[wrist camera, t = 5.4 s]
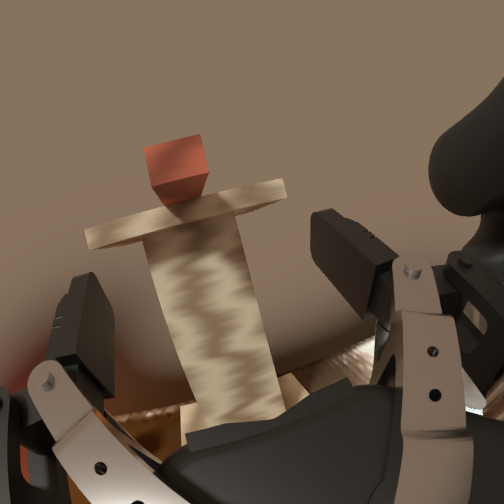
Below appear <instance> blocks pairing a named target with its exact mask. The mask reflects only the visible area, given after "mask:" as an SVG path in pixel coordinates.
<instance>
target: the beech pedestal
mask: <svg viewBox="0 0 504 504" xmlns="http://www.w3.org/2000/svg"><path fill="white" fill-rule="evenodd" d="M285 198H287V194H286V190H285V187H284V183H283V179H276V180H272V181H267V182H262V183H257V184H253V185H248V186H243V187H239V188H235V189H230V190H226V191H222V192H217V193H213V194H209V195H205V196H201V197H197V198H193V199H189V200H185V201H181V202H177V203H174V204H170V205H166V206H163V207H159V208H155V209H152V210H148V211H145V212H142V213H138V214H134V215H131V216H127V217H124V218H121V219H118V220H115V221H111V222H108V223H105V224H101V225H99V226H95V227H92V228H89V229H86V230H85V235H86V239H87V243H88V247H89V250H96V249H105V248H113V247H121V246H126V245H130V244H133V243H136V242H140V241H143V245H144V249H145V253H146V257H147V260H148V264H149V268H150V271H151V275H152V278H153V281H154V285H155V288H156V291H157V295H158V298H159V301H160V304H161V307H162V310H163V314H164V317H165V320H166V323H167V326H168V328H169V331H170V334H171V337H172V340H173V343H174V345H175V348H176V351H177V354H178V356H179V359H180V361H181V364H182V367H183V369H184V372H185V374H186V377H187V379H188V382H189V384H190V387H191V389H192V391H193V394H194V396H195V399H196V401H197V403H193V404H189V405H185V406H181V440H182V446H184V445H186V444H187V441H186V437H185V433H189V432H193V431H198V430H202V429H206V428H210V427H213V426H217V425H221V424H224V423H236V422H249V421H260V420H269V419H273V418H276V417H278V416H279V415H281V414H282V413H284V412H285V411H287V410H288V409H289V408H291V407H292V406H294V405H295V404H297V403H298V402H300V401H301V400H302V399H304V398H305V397H306V396H308V395H309V393H308V392H307V391H306V390H305V389H304V387H303V386H302V385H301V384H300V383H299V381H298V380H297V379H296V378H295V377H294V376H293V374H292V373H289V374H286V375H284V376H281V377H278V378H277V376H276V372H275V368H274V364H273V361H272V357H271V353H270V350H269V346H268V342H267V338H266V334H265V330H264V326H263V323H262V319H261V315H260V311H259V307H258V304H257V300H256V296H255V292H254V288H253V285H252V280H251V277H250V273H249V269H248V265H247V261H246V257H245V253H244V250H243V246H242V242H241V238H240V234H239V230H238V226H237V222H236V218H235V216H237V215H241V214H245V213H249V212H253V211H255V210H258V209H260V208H262V207H265V206H267V205H270V204H273V203H275V202H277V201H280V200H282V199H285Z"/></svg>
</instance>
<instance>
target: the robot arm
mask: <svg viewBox="0 0 504 504" xmlns="http://www.w3.org/2000/svg"><path fill="white" fill-rule="evenodd" d="M428 171H429V181H430V185H431V188H432V191H433V193H434V195H435V197H436V198H437V200H438V201H439V202H440V204H441V205H442V206H443V207H444V208H446V209H447V210H448V211H450V212H452V213H454V214H456V215H460V216H468V217H471V216H476V215H480V214H481V223H480V226H479V228H478V230H477V232H476V233H475V235H474V236H473V237H472V239H471V240H470V241H469V242H468V243H467V244H466V245H465V246H464V247H463V249H462V250H461V251H453V252H451V253H450V254H449V255H448V258H447V261H446V264H445V265H439V266H430V265H429V264H428V263H427V262H425V261H424V260H423V259H421V258H418V257H415V256H409V255H406V256H399V255H397V254H396V253H395V252H394V251H393V250H391V249H390V248H389V247H388V246H387V245H385V244H384V243H383V242H382V241H381V240H379V239H378V238H377V237H376V238H375V236H374V235H373V234H372V233H371V232H368V230H367V229H366V228H365V227H363V226H362V225H361V224H359V223H358V222H355V221H353V220H350V219H348V218H344V217H343V216H342V215H340V214H339V213H338V212H336V211H335V210H334V209H332V208H330V209H326V210H322V211H318V212H314V213H312V215H311V234H310V237H311V238H310V239H311V241H310V250H311V255H312V258H313V260H314V262H315V264H316V265H317V266H318V267H319V268H320V270H321V271H322V272H323V273H324V274H325V276H326V277H327V278H328V279H329V280H330V281H331V283H332V284H333V285H334V286H335V287H336V289H337V290H338V291H339V292H340V293H341V294H342V296H343V297H344V298H345V299H346V301H347V302H348V303H349V304H350V305H351V307H352V308H353V309H354V310H355V311H356V313H357V314H358V315H359V316H360V318H361V319H362V320H366V319H368V318H370V317H372V316H375V317H376V318H377V322H376V331H375V332H376V333H375V349H374V363H373V371H372V376H371V379H370V383H369V385H356V386H352V384H351V383H350V381H349V379H348V378H347V377H346V378H344V379H342V380H340V381H338V382H336V383H334V384H331V385H329V386H327V387H325V388H322V389H320V390H318V391H315V392H313V393H311V394H309V395H308V396H306V397H305V398H304V399H302V400H301V401H300V402H298V403H297V404H295V405H294V406H292V407H291V408H289V409H288V410H287V411H285V412H284V413H282V414H281V415H279V416H278V417H276V418H273V419H269V420H260V421H249V422H236V423H224V424H221V425H217V426H213V427H210V428H206V429H202V430H198V431H193V432H189V433H185V437H186V441H187V444H186V445H184V446H182V447H180V448H179V449H177V450H176V451H174V452H173V453H172V454H170V455H169V456H168V457H167V458H166V459H165V460H164V461H163V462H161V461H160V460H159V459H157V458H156V457H155V456H154V455H152V454H151V453H150V452H149V451H147V450H146V449H145V448H144V447H142V446H141V445H140V444H139V443H138V442H137V441H136V440H135V439H134V438H133V437H132V436H131V435H130V434H129V433H128V432H127V431H126V430H125V429H124V428H123V427H122V426H121V425H120V424H119V423H118V422H117V421H116V420H115V419H114V418H113V417H112V416H111V415H110V414H109V413H108V412H107V410H105V409H104V399H108V398H114V397H115V384H114V325H115V318H114V313H113V309H112V307H111V304H110V302H109V300H108V299H107V297H106V295H105V293H104V291H103V289H102V287H101V285H100V283H99V281H98V279H97V277H96V276H95V274H94V273H93V272H89V273H86V274H83V275H80V276H76V277H74V278H73V279H72V282H71V285H70V289H69V292H68V294H65V295H64V297H63V298H62V300H61V301H60V303H59V304H58V306H57V309H56V313H55V319H54V321H53V326H52V327H53V329H52V330H51V335H50V339H49V344H48V350H47V355H46V360H45V361H44V362H42V363H40V364H39V365H38V366H36V368H35V369H34V370H33V371H32V373H31V374H30V377H29V380H28V387H26V388H25V389H23V390H21V391H19V392H17V393H15V394H13V395H12V394H11V393H10V392H9V391H8V390H7V389H5V388H4V387H1V386H0V504H72V503H71V497H70V492H69V486H68V479H67V473H68V474H69V476H70V477H71V478H72V480H73V481H74V482H75V484H76V485H77V486H78V487H79V489H80V490H81V491H82V492H83V494H84V495H85V496H86V497H87V499H88V500H89V501H90V502H91V503H92V504H504V77H503V79H502V80H501V81H500V83H499V84H498V85H497V86H496V87H495V89H494V90H493V91H492V92H491V93H490V94H489V96H488V97H487V98H486V99H485V100H484V101H483V102H482V103H480V104H479V105H478V106H477V107H476V108H475V109H474V110H472V111H471V112H470V113H469V114H467V115H466V116H465V117H464V118H463V119H462V120H460V121H459V122H458V123H456V124H455V125H453V126H452V127H451V128H449V129H448V130H447V131H446V132H444V133H443V134H442V135H441V136H440V137H439V139H438V140H437V141H436V143H435V145H434V147H433V149H432V152H431V155H430V160H429V169H428ZM465 405H466V406H468V407H471V408H475V409H483V416H482V415H478V414H474V413H471V412H467V411H465ZM20 445H22V446H24V447H25V448H27V451H28V469H29V482H30V484H29V483H28V482H27V481H26V480H25V479H24V478H23V475H22V473H21V464H20ZM66 471H67V472H66Z"/></svg>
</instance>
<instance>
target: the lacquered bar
mask: <svg viewBox="0 0 504 504" xmlns="http://www.w3.org/2000/svg"><path fill="white" fill-rule="evenodd" d="M144 151H145V157H146V162H147V167H148V172H149V177H150V182H151V186H152V188H153V190H154V191H155V193H156V194H157V196H158V197H159V199H160V200H161V202H162V203H163V205H164V206H166V205H170V204H174V203H177V202H181V201H185V200H189V199H193V198H197V197H201V194H202V191H203V188H204V185H205V182H206V179H207V176H208V173H209V170H208V166H207V162H206V158H205V153H204V149H203V145H202V141H201V137H200V134H199V135H194V136H190V137H185V138H181V139H177V140H173V141H169V142H164V143H161V144H157V145H153V146H149V147H145V148H144Z"/></svg>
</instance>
